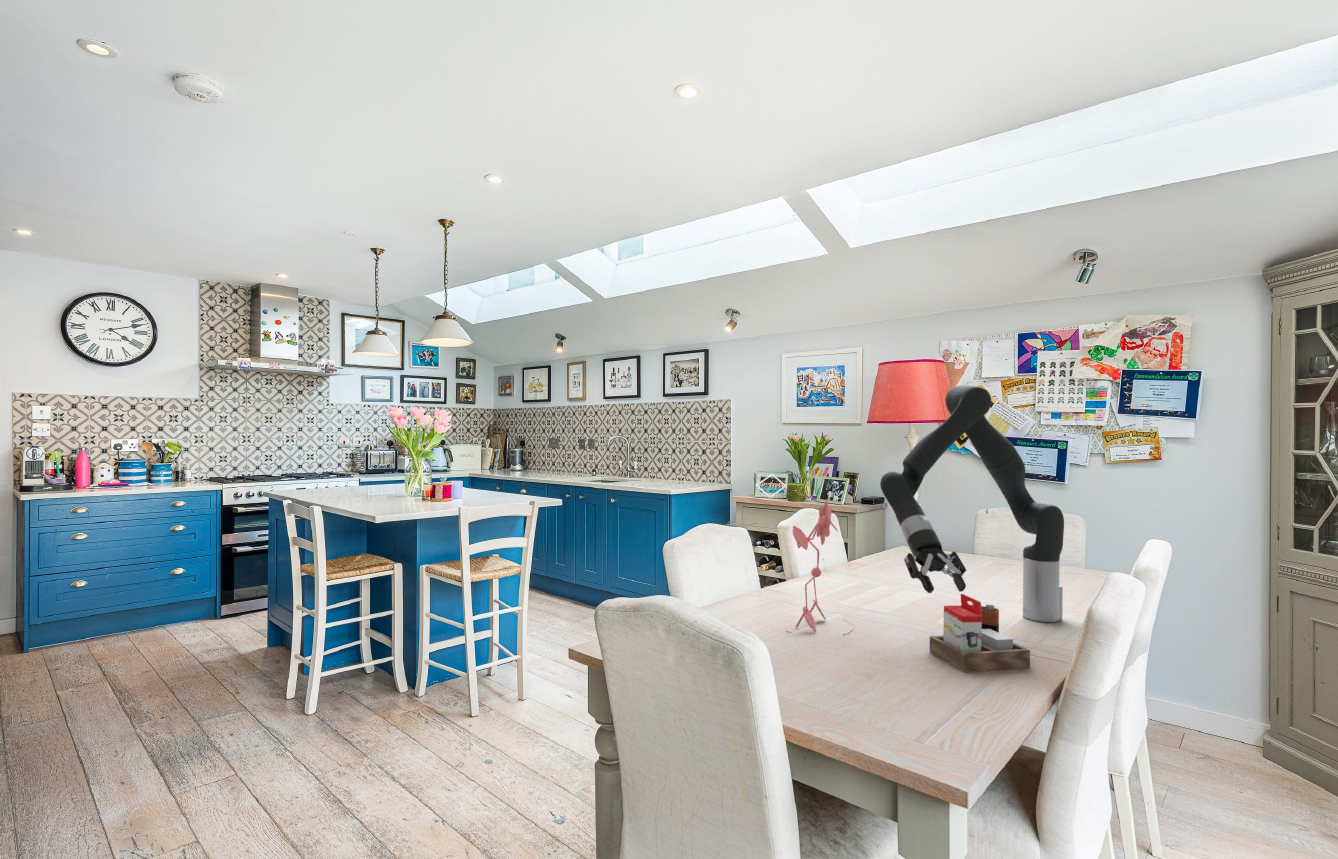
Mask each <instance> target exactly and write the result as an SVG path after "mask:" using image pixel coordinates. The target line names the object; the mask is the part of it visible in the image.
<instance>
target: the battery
mask: <svg viewBox="0 0 1338 859" xmlns="http://www.w3.org/2000/svg"><path fill="white" fill-rule="evenodd" d="M971 605H972V606H974V604H973V603H972V602H971ZM981 616H982V629H991V630H994V631H996V632H998V633H1000V631H999V630H1000V610H999V608H996V606H995V605H993V604H985V606H984V605H981Z"/></svg>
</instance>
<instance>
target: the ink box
mask: <svg viewBox="0 0 1338 859" xmlns="http://www.w3.org/2000/svg"><path fill="white" fill-rule="evenodd" d="M968 602H970V603H971V604H970V603H968ZM972 603H973V604H974V606H972ZM981 606H982V602H981V601H979V600H977V599H975V598H973V597H970V596H968V595H966V594H964V593H961V594H960V605H944V606H943V635H942V636H943V641H944V642H946V643H947V644H949V645H951V646H953V647H955V648H957V649H959V650H961V651H963V652H965V653H967V652H981V632H982V616H981Z"/></svg>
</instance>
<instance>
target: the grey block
mask: <svg viewBox="0 0 1338 859" xmlns="http://www.w3.org/2000/svg"><path fill="white" fill-rule="evenodd" d="M1013 640H1014V639H1013V638H1012V637H1009V636H1007V635H1005V634H1003V633H1000V632H999V633H998V632H996V631H994V630H991V629H982V632H981V643H982V644H984V645H986V646H988V647H990V648H992V649H994V650H996V651H998V650H1013V643H1014V641H1013Z"/></svg>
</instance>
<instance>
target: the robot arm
mask: <svg viewBox="0 0 1338 859" xmlns="http://www.w3.org/2000/svg"><path fill="white" fill-rule="evenodd" d="M945 405H946V407H945V408H946V409H947V411H948V413H949V414H950V416H949V417H948V418H947V419H946V420H945V421H944V422H943V423H941V424H940V425H939V426H938V427H937V428H935V429H933V431H931V432H930V433H928V434H927V435H925V436H924V437H923V438H922V439H921V440H919V441H918V442H917V443H916V444H915V445H914V446H913V448H912V449H911V450H910V451H909V453H908V454H907V455H906V456H905V458H904V459H903V461H902V466H903V470H902V472H901V473H900V472H897V471H888V472H886V473H885V474H883V476H882V477H881V479H880V483H879V484H880V486H879V487H880V489H881V492H882V494H883V496H884V498H885V499H886V501H887V502H888V504H889V506H890V508H891V509H892V510H893V512H894V515H895V518H896V520H897V522H898V524H899V526H900V528H901V531H902V535H903V537H904V539H905V541H906V543H907V545H908V548H909V550H910V552H909V553H907V554H906V555H905V556H906V557H904V559H903V561H904V563H905V566H906V569H907V570H908V574H909V576H910V578H911V579H918V580H919V581H920V582H921V585H922V587H923V589H924V591H925V592H926V593H927V594H932V593H933V591H935V587H934V585H933V583H932V580H931V579H930V577H929V575H928V572H929V573H932V572H941V573H943V574H944V575H949V577H950V578H953V579H952V581H953V582H954V584H955V587H956V589H957V591H958V592H964V591H965V589H966V588H967V585H966V582H965V581H964V578H963V575H964V574H965V573H966V572H967V569H966V567H965V564H963V561H962V560H961V558H960V556H959V555H958V553H957V552H956V551H952V552H951V553H945V552H944V550H943V548H942V543H941V541H940V539H939V537H938V535H937V534H936V530H935V529H934V528H933V527H934V526H933V525H932V523H931V522H930V521H929V519H928V518H927V516H926V515H925V512H924V510H923V507H921V505H920V503H919V502H918V501H917V499H916V498H915V496H916V494H917V491H918V490H919V488H920V486H921V484H922V482H923V480H924V479H925V476H926V475H927V473H928V472H929V471H931V469H932V468H933V467H934V465H935V464H936V463H937V462H938V460H939V459H940V458H941V456H942V455H943V454H945V452H947V450H948V449H949V448H950V447H951V446H952V445H953V444H954V443H955V442H956V441H957V440H958V439H959V438H961V436H963V435H964V434H966V436H967V438H968V440H969V441H970V443H971V444H972V446H973V448H974V449H975V451H976V453H977V455H978V456H979V458H980V459H981V461H982V463H983V464H984V466H985V468H986V469H987V471H988V473H989V474H990V475H991V478H993V480H994V481H995V484H996V485H997V487H998V489H999V490H1000V492H1001V494H1002V495H1003V496H1004V499H1005V501H1006V503H1007V504H1008V506H1009V508H1010V510H1011V512H1012V515H1013V516H1014V519H1015V522H1016V523H1017V525H1018V526H1019V527H1020V529H1021V530H1022V531H1024V532H1026V533H1027V534H1032V535H1035V542H1034V543H1033V544H1031V545H1028V546H1025V547H1024V548H1023V550H1022V616H1023V617H1024V618H1025V619H1027V620H1031V621H1036V622H1040V623H1041V622H1043V623H1056V622H1059V621H1062V620H1063V594H1064V593H1063V586H1061V585H1060V583H1061V582H1060V573H1061V572H1060V570H1061V569H1060V567H1061V566H1060V563H1061V562H1060V560H1061V559H1060V558H1061V557H1060V556H1061V554H1062V551H1063V546H1064V535H1065V534H1064V532H1065V519H1064V518H1065V517H1064V514H1063V512H1062V510H1061V509H1060V508H1059V507H1058V506H1056V505H1054V504H1048V503H1041V502H1036V501H1035V499H1034V498H1033V497H1032V496H1031V494H1030V492H1029V491H1028V489H1027V487H1026V482H1025V480H1026V467H1025V466H1026V465H1025V463H1024V460H1023V459H1022V457H1021V456H1020V454H1019V452H1018V450H1017V449H1016V447H1015V446H1014V445H1013V443H1012V442H1011V441H1010V440H1009V439H1008V438H1007V437H1006V436H1005V435H1004V434H1002V433H1001V432H1000V431H999V430H998V429H997V428H995V427H994V425H992V424H991V423H990V422H989V420H988V419H987V417H986V416H985V415H987V414H988V412H989V410H990V408H991V406H992V397H991V394H990V393H989V391H988V390H987V389H985V388H983V387H981V386H976V385H956V386H953V387H951V388H950V389H949V390H948V391H947V393H946V396H945ZM917 564H919V565H920V568H918V566H917ZM946 566H947V568H946ZM919 569H920V570H919Z"/></svg>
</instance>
